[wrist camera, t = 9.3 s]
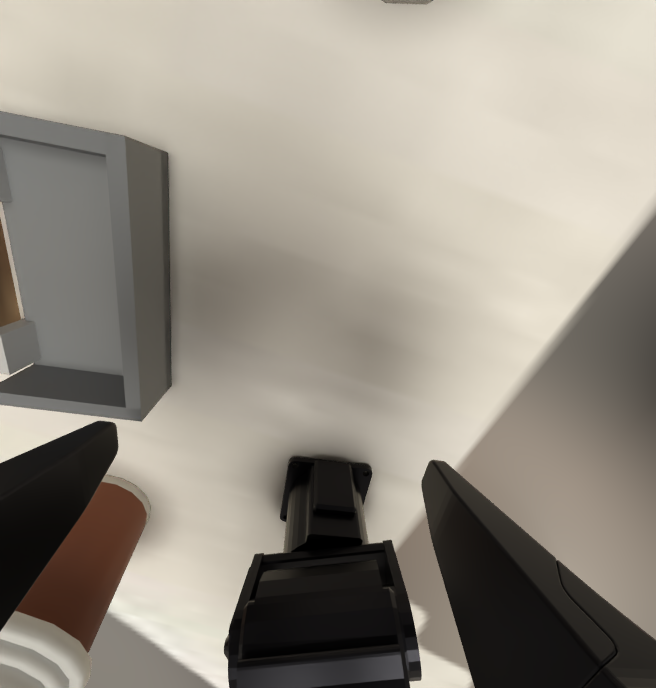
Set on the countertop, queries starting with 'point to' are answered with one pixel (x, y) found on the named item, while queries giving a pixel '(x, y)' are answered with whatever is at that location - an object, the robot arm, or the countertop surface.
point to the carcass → (85, 270)
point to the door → (6, 287)
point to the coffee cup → (73, 593)
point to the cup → (408, 1)
